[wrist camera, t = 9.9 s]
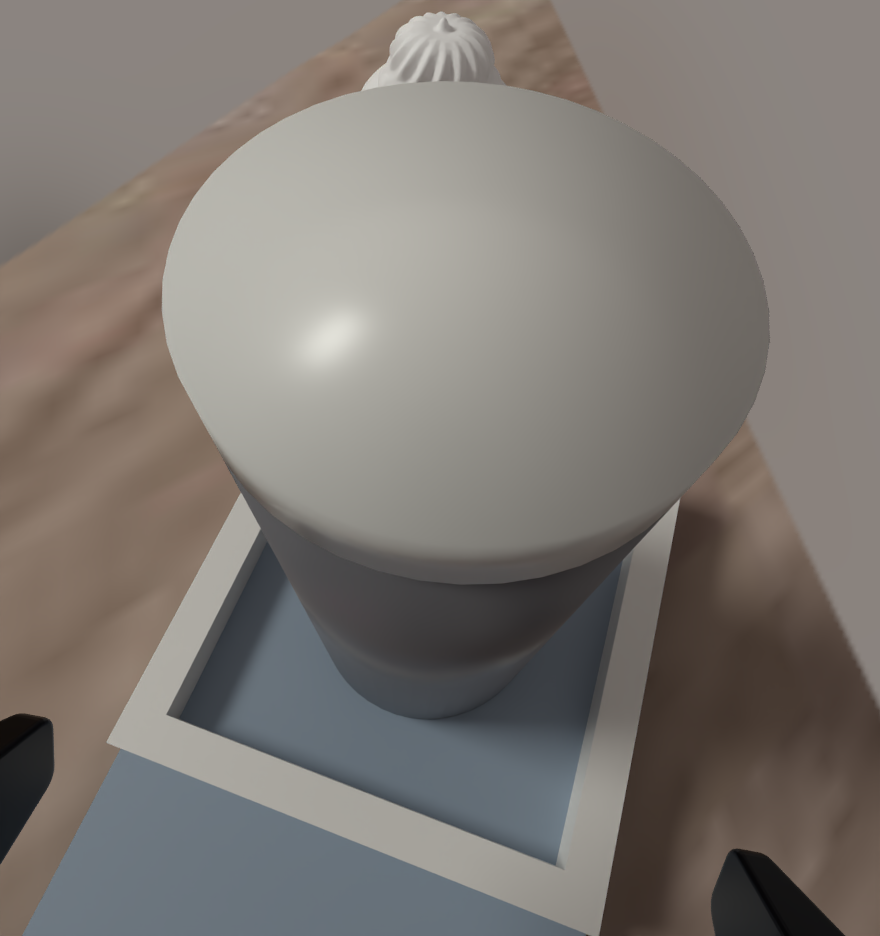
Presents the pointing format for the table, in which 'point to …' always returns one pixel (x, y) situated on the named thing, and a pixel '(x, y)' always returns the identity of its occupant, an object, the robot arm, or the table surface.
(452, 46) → the muffin
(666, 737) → the table surface
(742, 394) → the grey cup with lid
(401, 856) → the charging board
